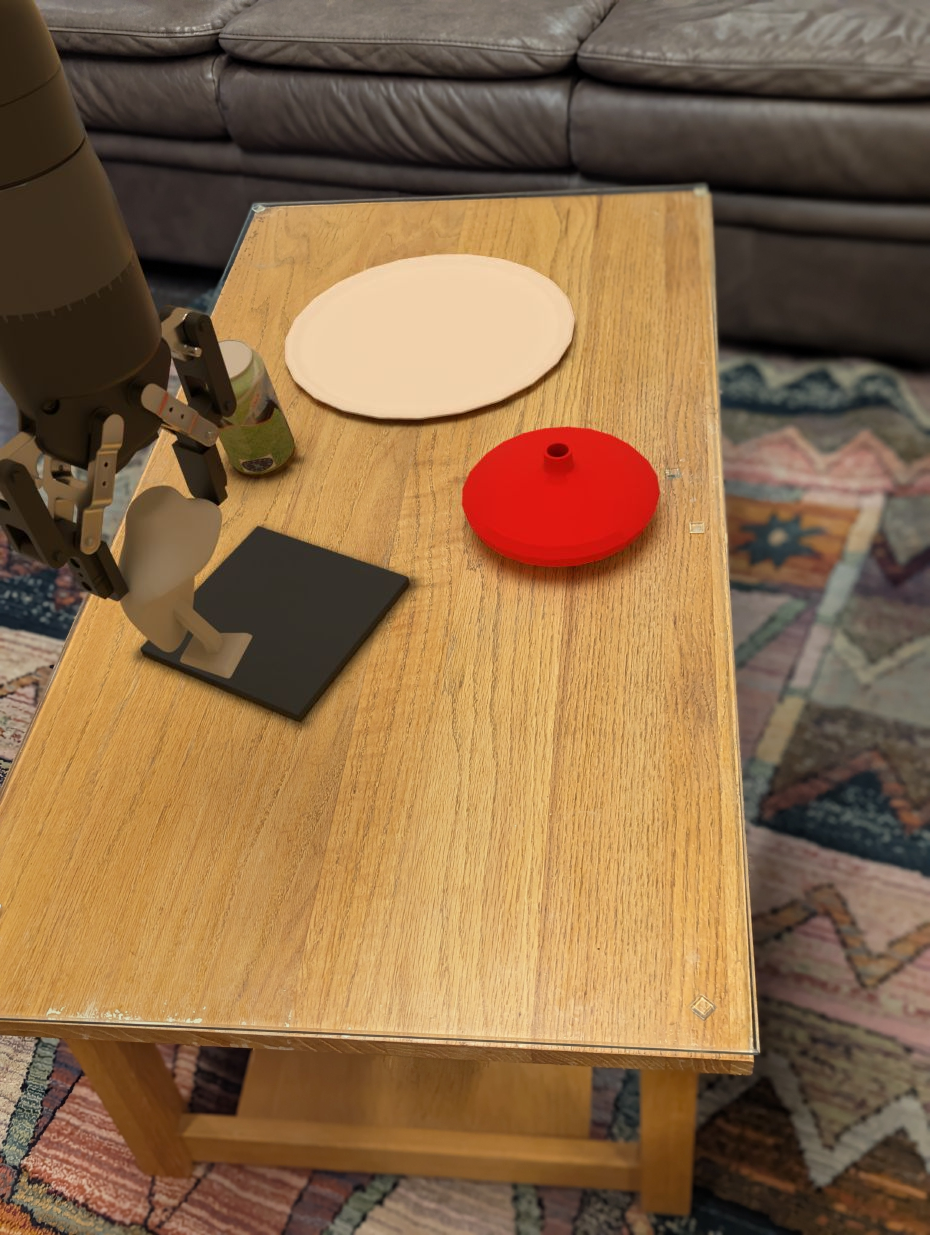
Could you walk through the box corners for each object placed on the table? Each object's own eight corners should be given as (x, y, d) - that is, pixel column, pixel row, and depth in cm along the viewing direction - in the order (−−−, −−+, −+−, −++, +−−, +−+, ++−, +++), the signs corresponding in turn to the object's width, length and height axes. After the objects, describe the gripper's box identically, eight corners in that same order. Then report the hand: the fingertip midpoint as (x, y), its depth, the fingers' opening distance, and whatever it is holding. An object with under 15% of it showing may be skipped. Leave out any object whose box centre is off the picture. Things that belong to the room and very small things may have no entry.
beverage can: (303, 437, 99) (273, 323, 90) (286, 490, 94) (252, 374, 85) (238, 438, 100) (201, 325, 91) (217, 490, 95) (177, 376, 86)
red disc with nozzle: (479, 455, 95) (472, 388, 90) (662, 458, 92) (665, 389, 87) (450, 583, 84) (440, 515, 79) (655, 591, 81) (658, 522, 76)
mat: (300, 722, 76) (297, 715, 76) (142, 655, 82) (139, 648, 82) (410, 583, 85) (408, 576, 84) (259, 532, 91) (257, 525, 90)
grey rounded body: (196, 600, 66) (130, 446, 58) (274, 611, 65) (219, 454, 56) (139, 694, 62) (58, 541, 53) (223, 708, 60) (154, 553, 51)
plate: (570, 253, 117) (569, 242, 116) (581, 416, 97) (581, 405, 96) (306, 273, 119) (303, 263, 119) (264, 436, 100) (261, 425, 99)
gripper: (-28, 372, 40) (122, 660, 52) (218, 196, 48) (299, 482, 60) (-153, 330, 43) (15, 611, 55) (97, 172, 51) (197, 448, 63)
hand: (163, 543), depth 57 cm, fingers closed on grey rounded body, 7 cm apart
